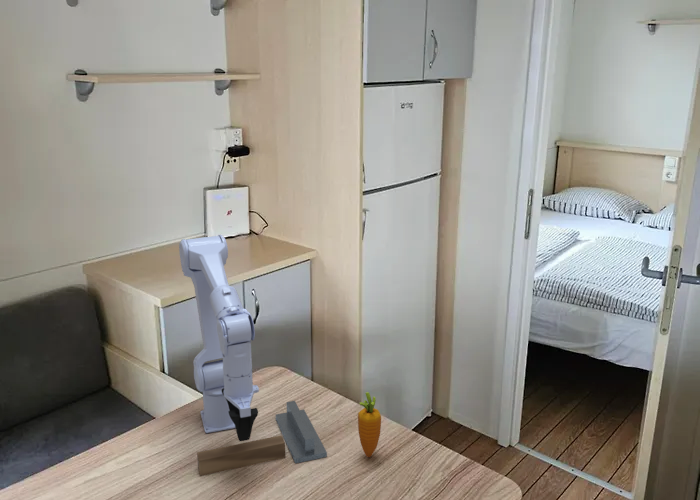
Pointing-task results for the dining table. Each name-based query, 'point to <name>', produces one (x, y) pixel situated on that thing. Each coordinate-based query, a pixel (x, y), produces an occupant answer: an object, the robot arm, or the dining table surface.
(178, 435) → the dining table surface
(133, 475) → the dining table surface
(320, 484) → the dining table surface
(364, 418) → the carrot
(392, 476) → the dining table surface
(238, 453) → the walnut rod
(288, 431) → the stand
